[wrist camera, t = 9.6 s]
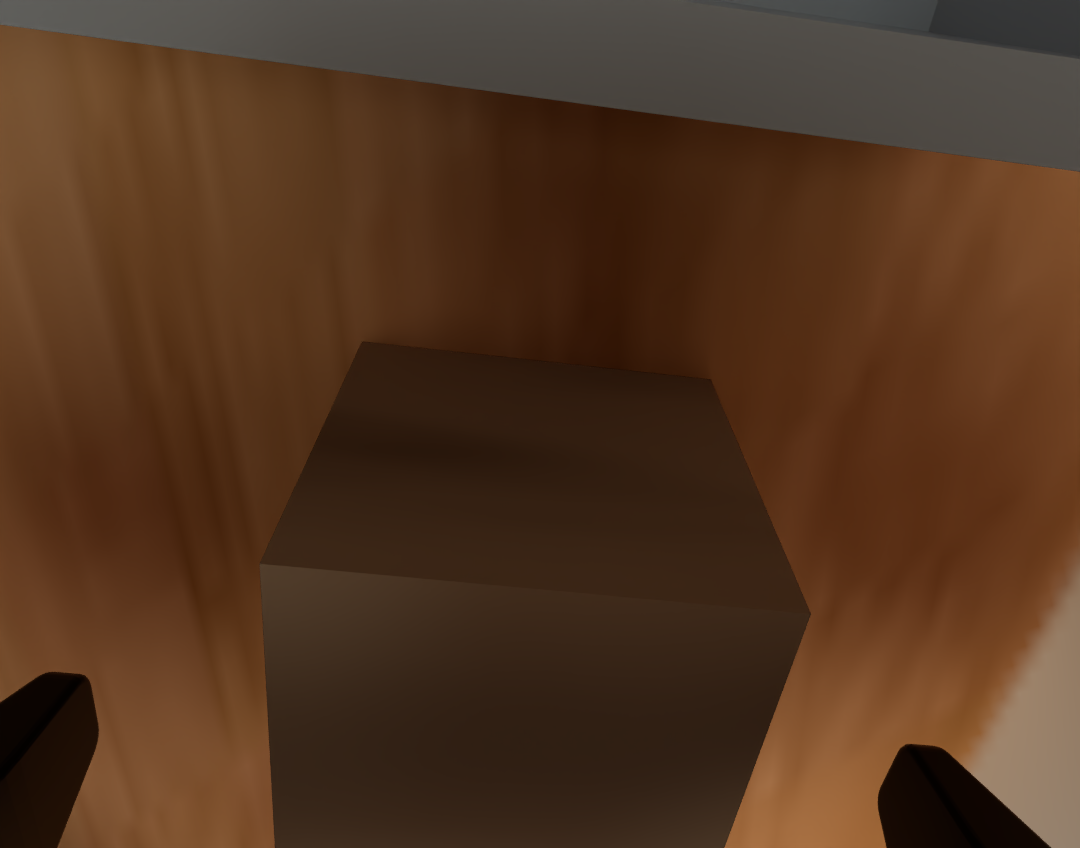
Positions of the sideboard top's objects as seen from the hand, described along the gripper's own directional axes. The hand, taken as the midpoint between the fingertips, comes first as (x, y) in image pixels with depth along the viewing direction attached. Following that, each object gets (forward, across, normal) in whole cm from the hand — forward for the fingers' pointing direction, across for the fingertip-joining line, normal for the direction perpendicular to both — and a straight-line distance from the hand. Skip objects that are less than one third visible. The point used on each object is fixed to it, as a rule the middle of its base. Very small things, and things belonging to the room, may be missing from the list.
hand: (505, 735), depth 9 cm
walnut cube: (+4, 0, 0) cm, 5 cm away
